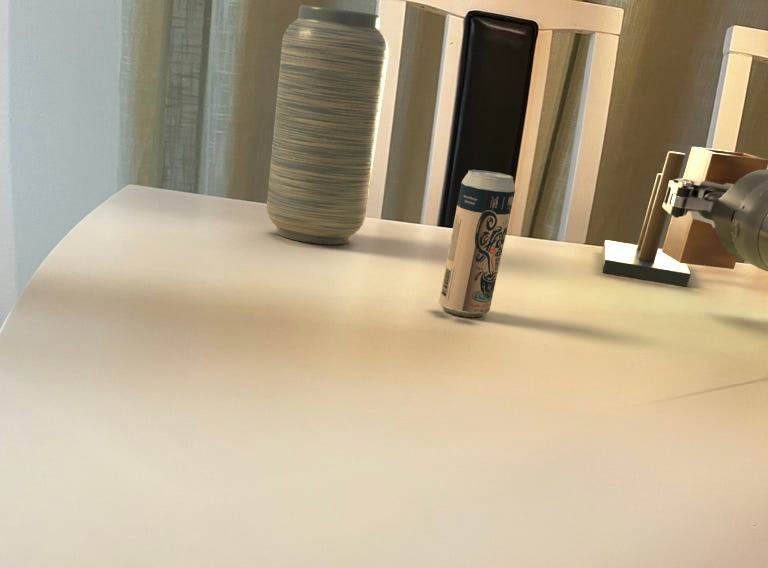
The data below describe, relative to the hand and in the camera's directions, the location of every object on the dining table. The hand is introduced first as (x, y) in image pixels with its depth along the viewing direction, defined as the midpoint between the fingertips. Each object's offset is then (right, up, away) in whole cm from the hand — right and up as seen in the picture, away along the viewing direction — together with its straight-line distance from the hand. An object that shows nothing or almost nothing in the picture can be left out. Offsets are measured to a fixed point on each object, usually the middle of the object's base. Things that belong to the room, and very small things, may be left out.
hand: (706, 193), depth 102 cm
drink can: (-26, -14, -7) cm, 31 cm away
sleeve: (-1, -6, +1) cm, 6 cm away
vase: (-40, +2, +18) cm, 43 cm away
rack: (+2, +2, +25) cm, 25 cm away
